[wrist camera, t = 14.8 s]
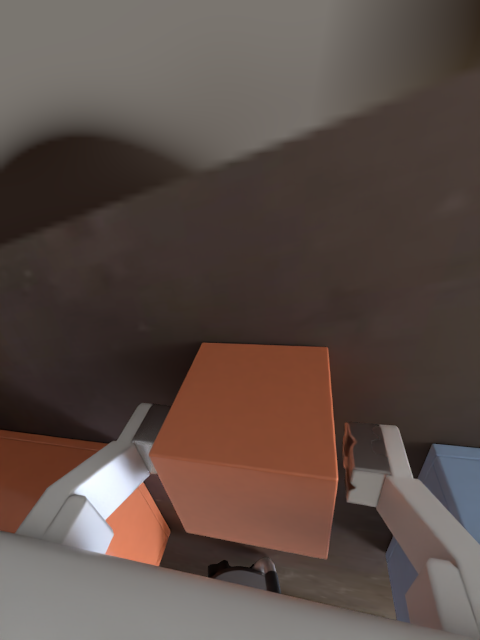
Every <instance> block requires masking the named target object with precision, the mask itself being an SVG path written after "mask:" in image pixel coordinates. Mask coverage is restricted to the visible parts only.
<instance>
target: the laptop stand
mask: <svg viewBox="0 0 480 640" xmlns="http://www.w3.org/2000/svg"><path fill="white" fill-rule="evenodd" d="M208 578H212V579H217V580H221V581H226V582H230V583H234V584H239V585H243V586H248V587H252V588H257V589H261V590H265V591H270V592H274V593H279V594H281V591H280V586H279V581H278V576H277V573H276V570H275V566H274V563H273V562H272V560H271V559H270V558H266V557H263V558H261V559H260V560H258V561H257V562H256V564H255V565H254V564H253V565H252V566H251V567H250V568H248V567H242V566H236V567H231V566H229V563H228V561H226V560H223V561H221V562H220V563H218V564H211V565H209V566H208Z"/></svg>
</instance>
